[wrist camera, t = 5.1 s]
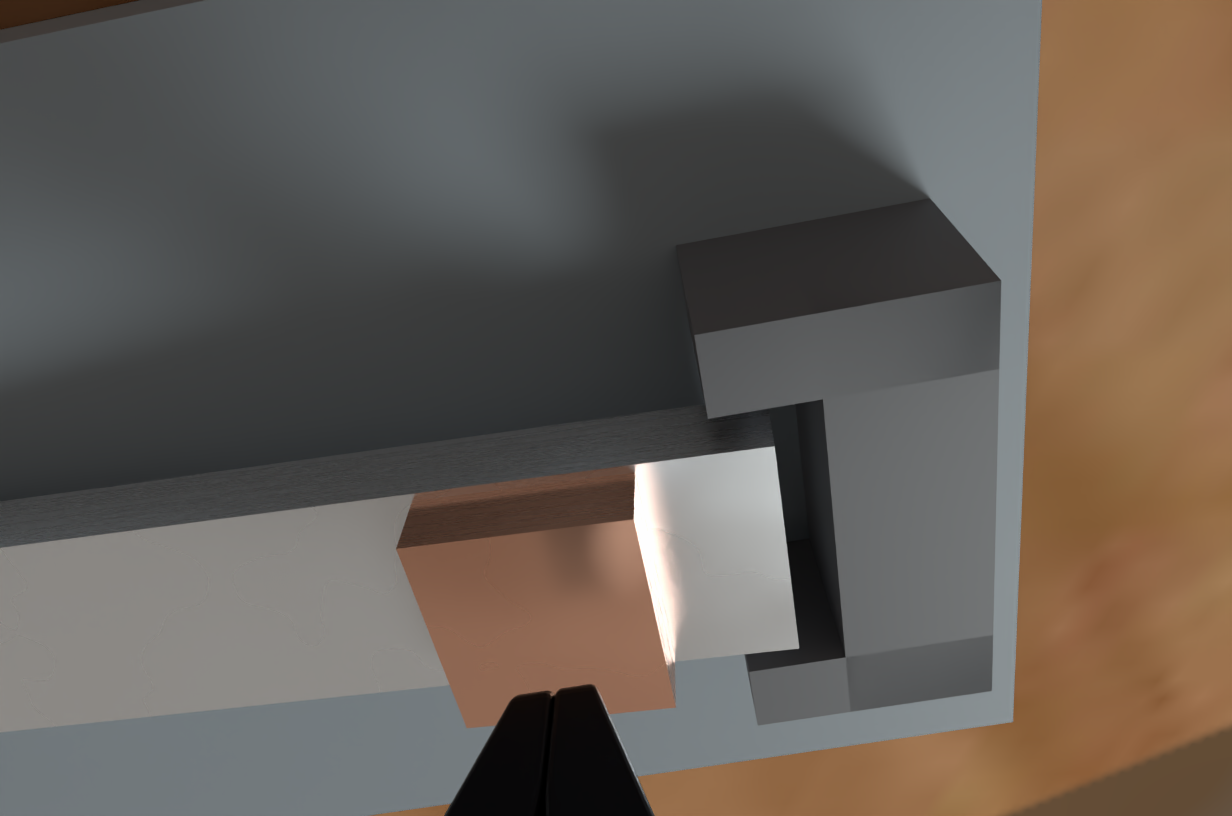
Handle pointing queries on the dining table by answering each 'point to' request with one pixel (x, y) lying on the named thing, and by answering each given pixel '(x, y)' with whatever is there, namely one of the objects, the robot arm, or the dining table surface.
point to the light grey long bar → (403, 574)
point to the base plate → (535, 324)
